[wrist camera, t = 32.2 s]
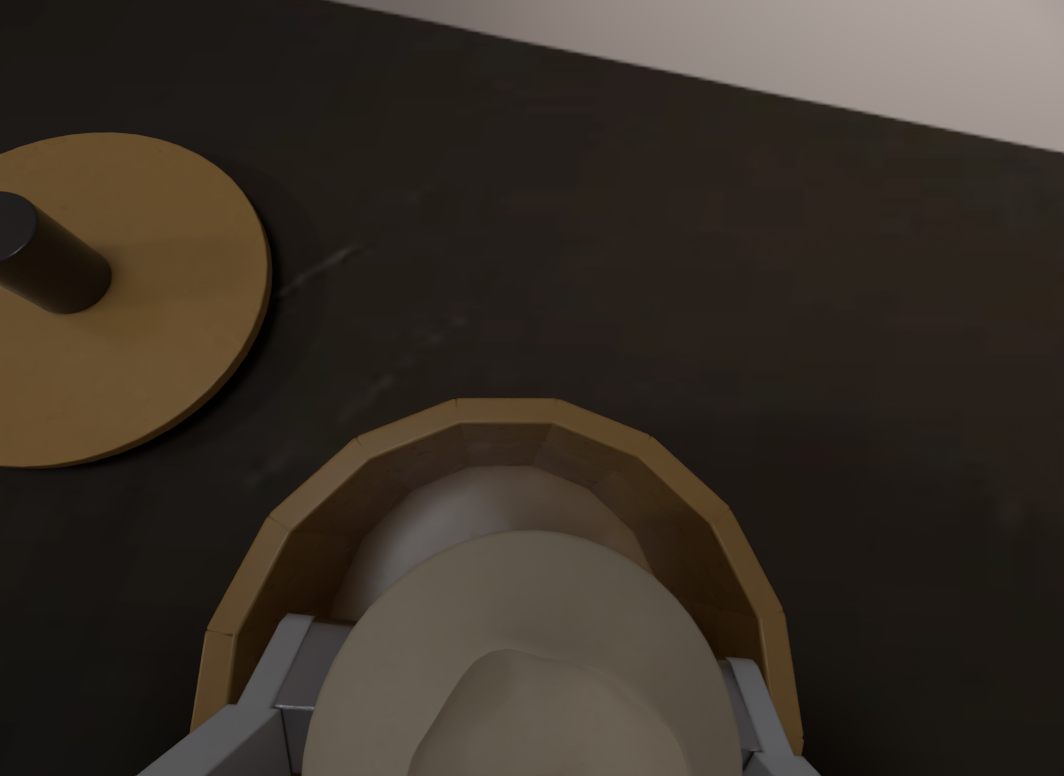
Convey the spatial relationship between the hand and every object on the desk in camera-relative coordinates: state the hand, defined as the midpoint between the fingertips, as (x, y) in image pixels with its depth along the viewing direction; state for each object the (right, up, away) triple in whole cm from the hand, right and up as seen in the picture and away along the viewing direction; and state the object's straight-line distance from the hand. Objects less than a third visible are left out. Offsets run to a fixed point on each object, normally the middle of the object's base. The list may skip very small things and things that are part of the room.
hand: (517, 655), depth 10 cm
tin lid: (-15, +8, +8) cm, 19 cm away
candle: (0, -2, +5) cm, 6 cm away
